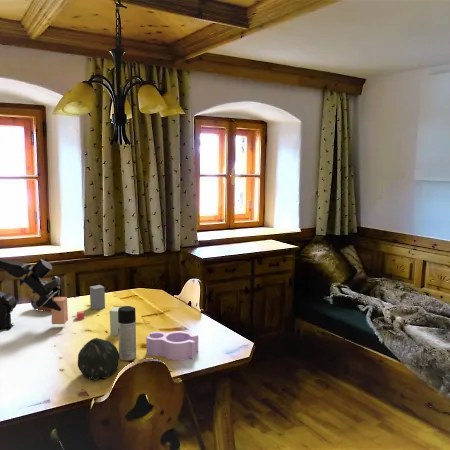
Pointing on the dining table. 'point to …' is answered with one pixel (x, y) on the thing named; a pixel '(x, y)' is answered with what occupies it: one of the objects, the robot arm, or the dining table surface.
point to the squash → (98, 359)
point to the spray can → (127, 333)
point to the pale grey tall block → (114, 321)
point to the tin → (33, 303)
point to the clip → (172, 345)
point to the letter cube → (80, 315)
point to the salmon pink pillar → (61, 315)
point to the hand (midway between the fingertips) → (62, 308)
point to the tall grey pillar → (97, 297)
